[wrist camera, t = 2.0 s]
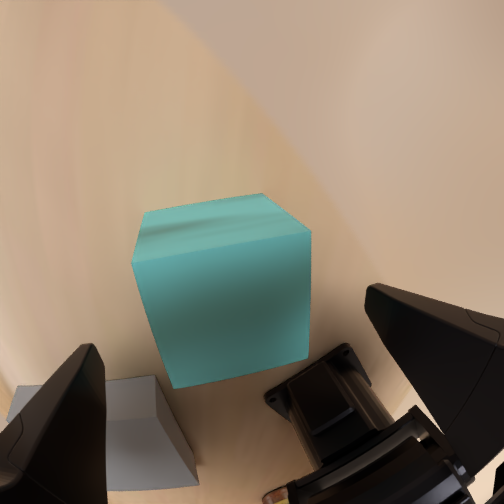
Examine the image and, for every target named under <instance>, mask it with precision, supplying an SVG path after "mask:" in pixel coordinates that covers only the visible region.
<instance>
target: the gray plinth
mask: <svg viewBox="0 0 504 504" xmlns="http://www.w3.org/2000/svg"><path fill="white" fill-rule="evenodd" d="M105 386H106V404H107V420H106V481H107V491H142V490H158V489H170V488H180V487H188V486H196V485H199V480H198V475H197V470H196V465H195V460H194V454H193V452H192V450H191V449H190V447H189V445H188V443H187V441H186V439H185V437H184V435H183V433H182V432H181V430H180V428H179V426H178V424H177V422H176V420H175V418H174V416H173V414H172V411H171V409H170V407H169V405H168V403H167V401H166V399H165V397H164V394H163V392H162V390H161V388H160V386H159V383H158V381H157V379H156V376H155V375H150V376H143V377H136V378H128V379H119V380H111V381H105ZM41 387H42V386H17V389H16V392H15V395H14V397H13V400H12V403H11V406H10V409H9V413H8V416H7V419H6V421H7V422H8V423H10V422H11V421H12V420H13V419H14V417H15V416H16V415H17V414H18V413H20V410H21V409H22V408H23V407H24V406H25V405H26V404H27V402H28V401H29V400H30V399H31V398H32V397H33V396H34V395H35V393H36V392H37V391H38V390H39V389H40V388H41Z"/></svg>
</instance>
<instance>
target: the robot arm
mask: <svg viewBox="0 0 504 504" xmlns="http://www.w3.org/2000/svg"><path fill="white" fill-rule="evenodd" d="M364 307H365V312H366V314H367V315H368V317H369V319H370V321H371V322H372V324H373V326H374V328H375V329H376V331H377V333H378V335H379V337H380V338H381V340H382V342H383V344H384V345H385V347H386V348H387V350H388V351H389V353H390V354H391V355H392V357H393V358H394V360H395V361H396V363H397V364H398V365H399V367H400V368H401V370H402V371H403V373H404V374H405V376H406V377H407V379H408V380H409V382H410V383H411V385H412V386H413V388H414V389H415V390H416V392H417V393H418V395H419V396H420V398H421V400H422V401H423V402H424V404H425V406H426V407H427V409H428V410H429V412H430V413H431V415H432V416H433V418H434V420H435V421H436V423H437V424H438V426H439V427H440V429H441V431H442V432H443V433H442V432H441V431H440V430H439V429H438V428H437V427H436V426H435V425H434V423H432V421H431V420H430V419H429V418H428V417H427V416H426V415H425V414H424V413H423V412H422V411H421V410H420V409H419V408H418V406H417V405H414V406H413V407H412V408H411V409H409V410H408V413H406V414H405V415H404V416H402V417H401V418H400V419H398V420H397V421H396V422H395V421H394V419H393V418H392V416H391V415H390V414H389V412H388V411H387V410H386V408H385V407H384V405H383V404H382V403H381V401H380V400H379V399H378V397H377V396H376V395H375V393H374V392H373V390H372V389H371V388H370V387H371V385H372V384H371V382H370V380H369V378H368V376H367V374H366V373H365V371H364V369H363V367H362V365H361V363H360V361H359V360H358V358H357V356H356V354H355V352H354V350H353V349H352V347H351V346H350V345H349V344H348V343H344V344H342V345H340V346H339V347H337V348H336V349H334V350H333V351H332V352H330V353H329V354H327V355H326V356H324V357H323V358H321V359H320V360H318V361H317V362H315V363H314V364H312V365H311V366H309V367H308V368H306V369H305V370H303V371H302V372H300V373H299V374H297V375H295V376H294V377H292V378H291V379H289V380H287V381H286V382H284V383H283V384H281V385H279V386H278V387H276V388H274V389H273V390H271V391H269V392H268V393H266V394H265V395H264V400H265V402H266V404H267V405H269V406H270V407H271V408H272V409H274V410H275V411H276V412H278V413H279V414H280V415H282V416H283V417H284V418H285V419H287V420H288V421H289V422H291V423H292V424H293V426H294V429H295V431H296V433H297V435H298V437H299V439H300V442H301V444H302V446H303V448H304V450H305V452H306V454H307V457H308V459H309V461H310V463H311V465H312V467H313V469H314V472H313V473H311V474H309V475H307V476H305V477H302V478H300V479H298V480H293V481H291V482H289V483H287V484H286V486H287V491H288V501H289V504H475V502H474V500H473V498H472V496H471V494H470V492H469V491H468V489H467V487H468V486H469V485H470V484H471V483H473V482H474V481H475V475H476V474H477V473H478V472H479V471H480V470H482V469H483V468H484V467H485V466H486V465H487V464H488V463H489V462H491V461H492V460H493V459H494V458H495V457H496V456H497V455H498V454H499V453H500V452H501V451H502V450H503V449H504V319H503V318H498V317H495V316H490V315H486V314H482V313H479V312H476V311H472V310H469V309H464V308H462V307H458V306H455V305H452V304H448V303H445V302H442V301H438V300H435V299H432V298H428V297H425V296H422V295H418V294H415V293H411V292H408V291H404V290H401V289H397V288H394V287H391V286H388V285H384V284H381V283H375V284H372V285H369V286H368V287H367V290H366V297H365V305H364ZM106 420H107V404H106V386H105V366H104V363H103V361H102V359H101V357H100V355H99V353H98V351H97V348H96V347H95V345H94V344H93V343H88V344H82V345H80V346H79V347H78V348H77V349H76V350H75V351H74V352H73V354H72V355H71V356H70V357H69V358H68V359H67V360H66V361H65V362H64V363H63V364H62V365H61V366H60V367H59V368H58V369H57V371H56V372H55V373H54V374H53V375H52V376H51V377H50V378H49V379H48V380H47V381H46V382H45V384H44V385H43V386H42V387H41V388H40V389H39V390H38V391H37V392H36V393H35V395H34V396H33V397H32V398H31V399H30V400H29V401H28V402H27V404H26V405H25V406H24V407H23V408H22V409H21V410H20V413H18V414H17V415H16V416H15V417H14V419H13V420H12V421H11V422H10V423H9V424H8V425H7V427H6V428H5V429H4V430H3V431H2V432H1V433H0V504H108V499H107V481H106ZM417 438H420V440H421V441H420V442H419V441H417ZM485 504H504V462H503V463H502V464H501V465H500V466H499V467H498V468H497V469H496V474H495V482H494V489H493V496H492V497H491V498H490V499H489V500H488V501H487V502H486V503H485Z"/></svg>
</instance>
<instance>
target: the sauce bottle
mask: <svg viewBox="0 0 504 504" xmlns="http://www.w3.org/2000/svg"><path fill="white" fill-rule="evenodd" d="M262 502H263V504H289V501H288V491H287V486H286V487H283V488H279V489H277V490H275V491H272V492H270V493H269V494H267V495H266V496H265V497H264V498H263V499H262Z"/></svg>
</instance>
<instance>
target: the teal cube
mask: <svg viewBox="0 0 504 504" xmlns="http://www.w3.org/2000/svg"><path fill="white" fill-rule="evenodd" d="M131 264H132V268H133V271H134V275H135V278H136V282H137V285H138V289H139V292H140V296H141V299H142V302H143V305H144V308H145V312H146V315H147V318H148V321H149V324H150V327H151V330H152V333H153V336H154V339H155V341H156V344H157V347H158V350H159V353H160V355H161V358H162V361H163V363H164V366H165V369H166V371H167V374H168V376H169V379H170V381H171V384H172V386H173V389H178V388H184V387H190V386H195V385H201V384H206V383H211V382H216V381H221V380H225V379H230V378H235V377H239V376H243V375H248V374H252V373H256V372H260V371H264V370H268V369H272V368H276V367H279V366H283V365H287V364H290V363H294V362H297V361H301V360H304V359H308V353H309V331H310V299H311V230H309V229H308V228H307V227H306V226H304V225H303V224H302V223H300V222H299V221H298V220H297V219H295V218H294V217H293V216H291V215H290V214H289V213H287V212H286V211H285V210H284V209H282V208H281V207H280V206H278V205H277V204H276V203H274V202H273V201H272V200H270V199H269V198H268V197H266V196H265V195H264V194H262V193H260V194H253V195H246V196H239V197H232V198H226V199H219V200H213V201H207V202H201V203H195V204H189V205H183V206H177V207H172V208H166V209H161V210H155V211H150V212H145V214H144V217H143V220H142V224H141V228H140V231H139V235H138V239H137V242H136V246H135V250H134V254H133V258H132V262H131Z"/></svg>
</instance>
